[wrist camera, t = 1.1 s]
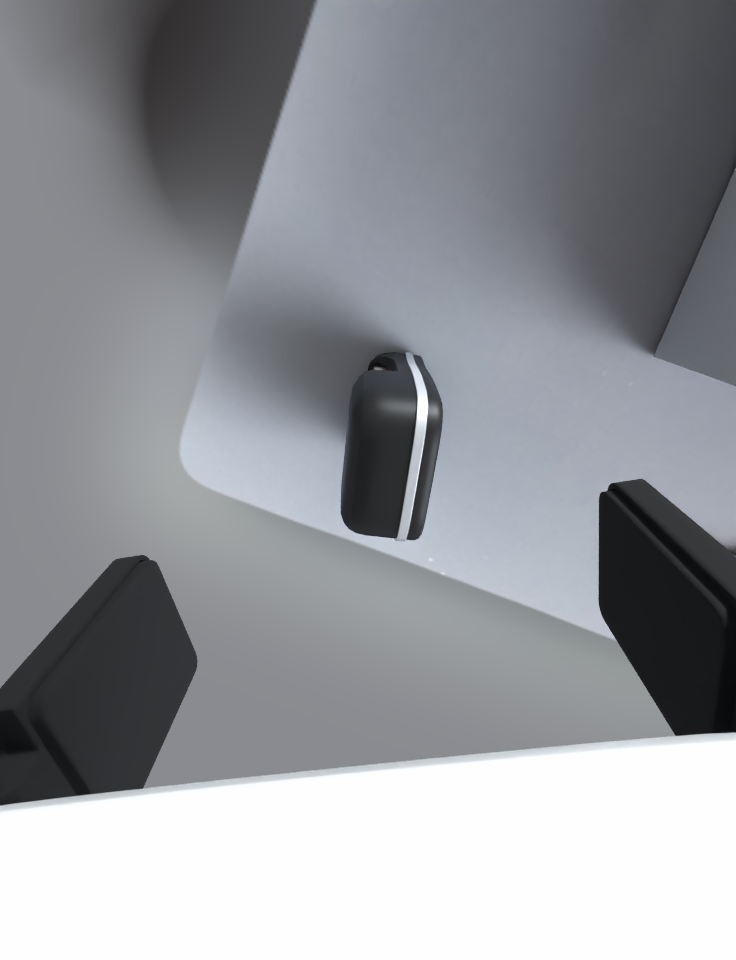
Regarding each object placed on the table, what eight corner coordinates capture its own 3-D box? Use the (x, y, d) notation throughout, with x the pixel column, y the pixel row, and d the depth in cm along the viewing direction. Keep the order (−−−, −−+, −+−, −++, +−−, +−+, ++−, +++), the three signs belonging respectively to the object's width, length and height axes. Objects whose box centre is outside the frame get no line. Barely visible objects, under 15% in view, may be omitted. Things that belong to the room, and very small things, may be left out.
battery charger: (359, 342, 29) (348, 391, 18) (423, 350, 29) (449, 403, 18) (347, 453, 31) (332, 550, 21) (406, 460, 32) (419, 559, 21)
